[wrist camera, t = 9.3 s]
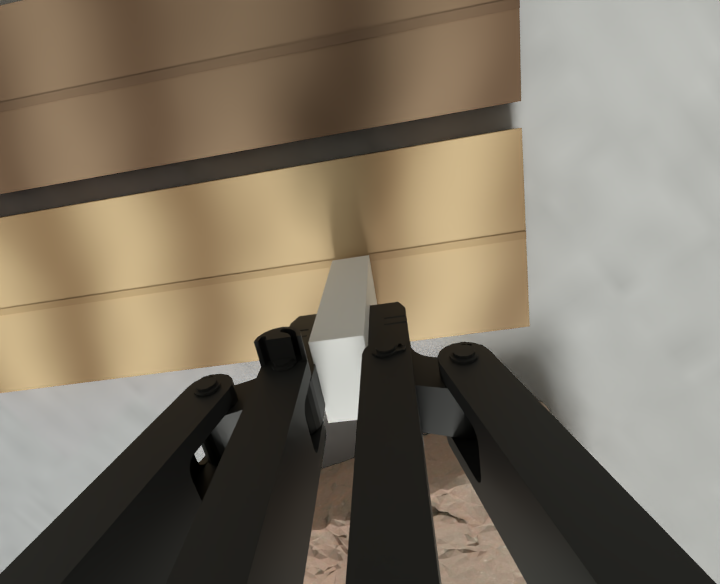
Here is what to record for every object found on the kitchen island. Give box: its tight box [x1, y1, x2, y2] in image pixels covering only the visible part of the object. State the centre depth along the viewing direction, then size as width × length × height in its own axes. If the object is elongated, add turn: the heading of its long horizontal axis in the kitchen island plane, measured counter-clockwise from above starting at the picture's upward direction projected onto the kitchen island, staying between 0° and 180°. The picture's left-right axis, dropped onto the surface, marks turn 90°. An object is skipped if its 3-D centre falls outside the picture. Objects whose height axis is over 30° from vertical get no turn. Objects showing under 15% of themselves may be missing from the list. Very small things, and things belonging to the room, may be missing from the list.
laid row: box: [0, 0, 521, 194], centre depth 16 cm, size 28×6×1 cm, turn 100°
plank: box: [0, 128, 529, 393], centre depth 19 cm, size 28×8×1 cm, turn 100°
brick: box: [303, 401, 550, 584], centre depth 23 cm, size 17×8×5 cm, turn 115°
